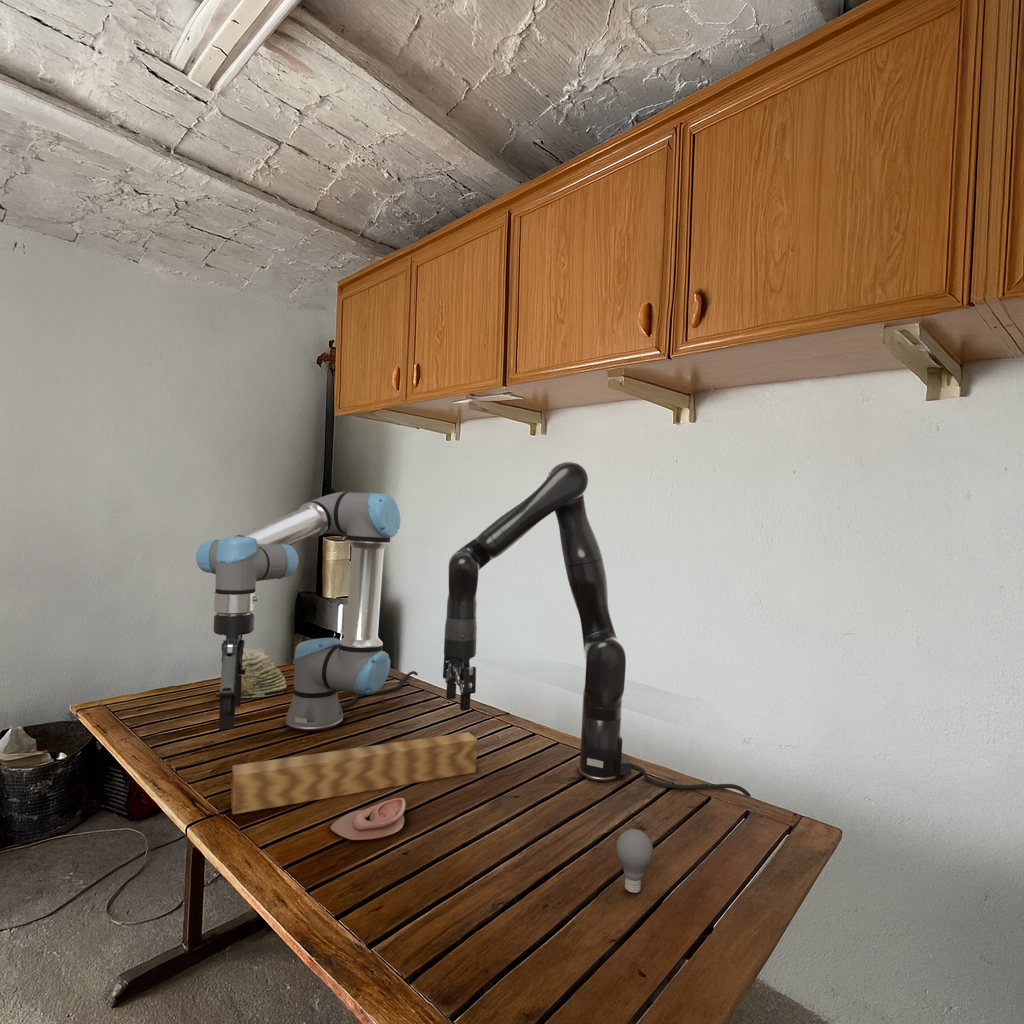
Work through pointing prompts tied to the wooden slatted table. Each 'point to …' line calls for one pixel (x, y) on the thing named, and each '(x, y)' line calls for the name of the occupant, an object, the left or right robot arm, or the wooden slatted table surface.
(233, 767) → the post
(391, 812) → the anatomical model
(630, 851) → the light bulb
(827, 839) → the wooden slatted table surface
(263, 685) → the fossil
